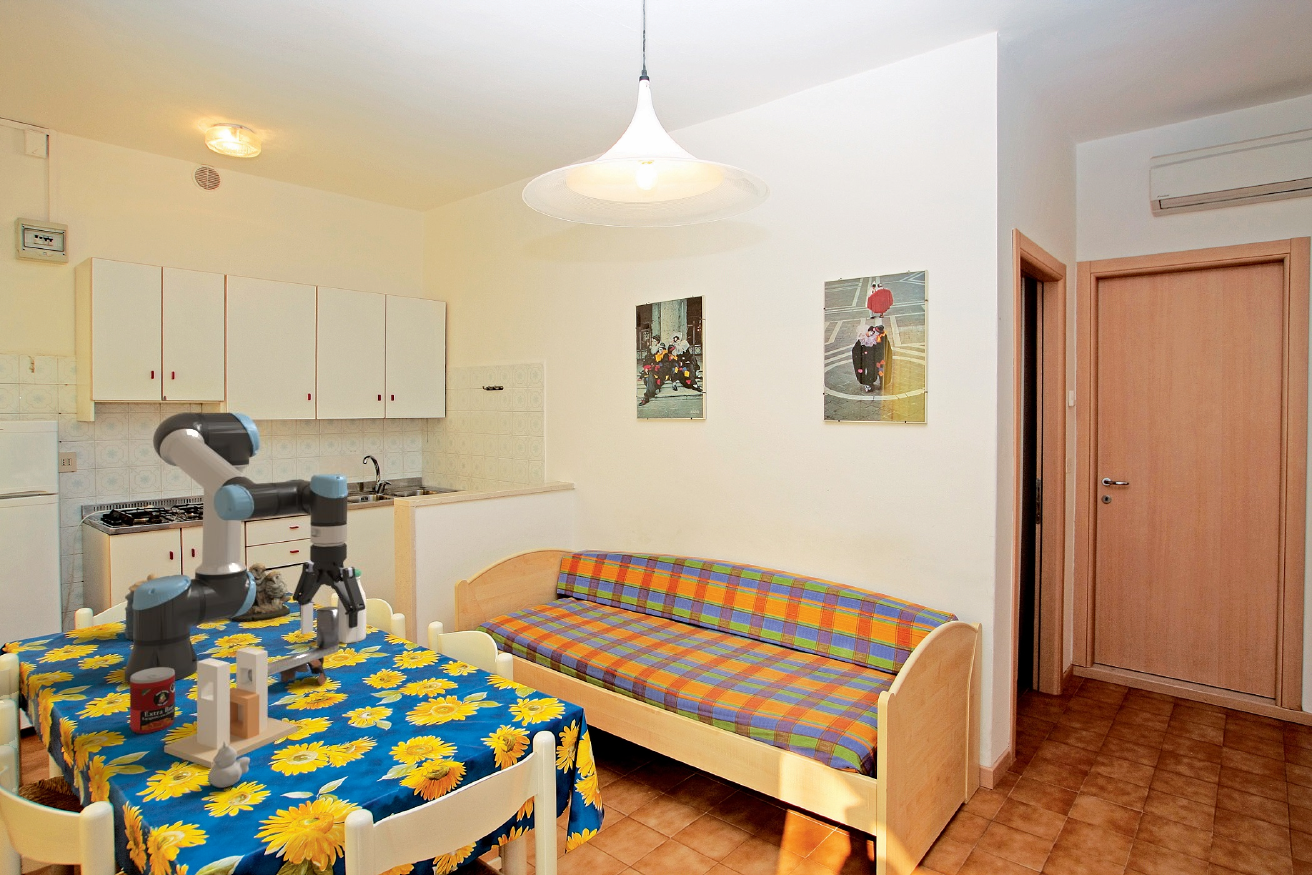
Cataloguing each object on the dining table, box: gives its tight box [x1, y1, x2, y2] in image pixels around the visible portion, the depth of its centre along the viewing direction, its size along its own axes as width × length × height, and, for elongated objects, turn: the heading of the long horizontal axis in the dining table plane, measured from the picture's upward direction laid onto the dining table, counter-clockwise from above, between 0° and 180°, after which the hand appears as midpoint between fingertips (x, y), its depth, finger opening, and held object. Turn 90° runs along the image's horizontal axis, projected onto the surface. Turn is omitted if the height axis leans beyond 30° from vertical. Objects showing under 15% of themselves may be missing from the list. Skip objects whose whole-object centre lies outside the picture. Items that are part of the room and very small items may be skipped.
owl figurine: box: [230, 562, 292, 623], centre depth 233 cm, size 18×12×17 cm, turn 131°
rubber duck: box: [207, 742, 251, 789], centre depth 129 cm, size 5×7×8 cm
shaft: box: [248, 606, 340, 681], centre depth 158 cm, size 21×5×10 cm, turn 154°
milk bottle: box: [336, 568, 367, 644], centre depth 211 cm, size 8×8×20 cm
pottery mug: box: [278, 657, 328, 686], centre depth 178 cm, size 12×10×8 cm
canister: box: [124, 573, 159, 641], centre depth 212 cm, size 13×13×18 cm
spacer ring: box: [230, 687, 259, 739], centre depth 146 cm, size 8×2×8 cm, turn 65°
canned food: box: [129, 667, 176, 734], centre depth 152 cm, size 8×8×11 cm
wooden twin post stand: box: [163, 646, 298, 770], centre depth 145 cm, size 14×18×17 cm
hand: (327, 637), depth 165 cm, fingers open, 13 cm apart
